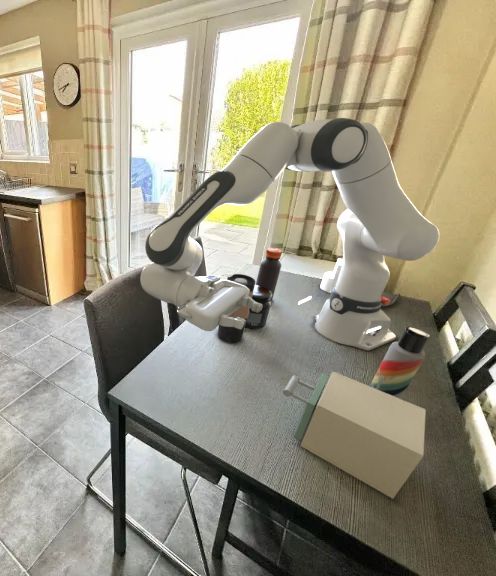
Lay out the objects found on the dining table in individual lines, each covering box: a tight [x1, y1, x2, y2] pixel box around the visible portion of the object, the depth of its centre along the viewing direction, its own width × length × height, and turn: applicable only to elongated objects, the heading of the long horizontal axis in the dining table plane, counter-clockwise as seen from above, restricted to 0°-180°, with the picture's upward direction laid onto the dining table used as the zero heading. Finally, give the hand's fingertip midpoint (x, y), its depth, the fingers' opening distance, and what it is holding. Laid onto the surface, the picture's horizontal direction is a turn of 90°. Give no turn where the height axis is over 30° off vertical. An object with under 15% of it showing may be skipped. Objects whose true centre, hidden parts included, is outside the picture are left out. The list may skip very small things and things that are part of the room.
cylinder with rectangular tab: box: [319, 257, 343, 294], centre depth 122 cm, size 9×9×12 cm
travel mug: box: [217, 273, 256, 345], centre depth 91 cm, size 8×8×20 cm
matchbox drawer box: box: [300, 371, 427, 500], centre depth 59 cm, size 15×13×12 cm
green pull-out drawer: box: [282, 372, 330, 441], centre depth 62 cm, size 18×11×10 cm, turn 46°
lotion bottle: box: [369, 326, 430, 400], centre depth 68 cm, size 6×6×20 cm
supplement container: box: [245, 284, 272, 331], centre depth 100 cm, size 10×10×12 cm
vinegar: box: [255, 247, 283, 303], centre depth 113 cm, size 7×7×20 cm
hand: (252, 316), depth 67 cm, fingers open, 8 cm apart
